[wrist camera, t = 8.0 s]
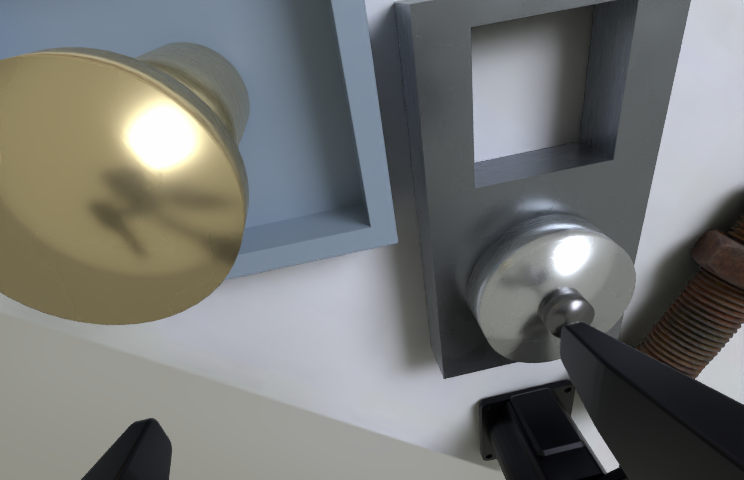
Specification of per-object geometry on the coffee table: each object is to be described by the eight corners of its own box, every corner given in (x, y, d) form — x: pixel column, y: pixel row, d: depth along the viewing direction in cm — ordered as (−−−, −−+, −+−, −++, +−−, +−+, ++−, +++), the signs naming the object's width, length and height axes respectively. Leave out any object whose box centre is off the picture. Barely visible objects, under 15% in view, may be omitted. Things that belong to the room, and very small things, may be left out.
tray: (385, 210, 20) (398, 242, 18) (108, 268, 19) (79, 310, 17) (330, -152, 13) (338, -185, 11) (-99, -83, 13) (-199, -101, 10)
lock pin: (284, 156, 17) (275, 294, 9) (150, 182, 17) (27, 348, 9) (243, 6, 14) (182, 26, 7) (82, 34, 14) (-182, 92, 6)
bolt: (747, 167, 25) (605, 359, 31) (735, 160, 21) (577, 378, 27) (881, 216, 21) (690, 422, 27) (893, 217, 18) (671, 453, 24)
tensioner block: (591, 309, 26) (657, 381, 21) (431, 345, 25) (462, 427, 21) (648, -45, 16) (789, -58, 12) (394, 2, 16) (435, 7, 11)
